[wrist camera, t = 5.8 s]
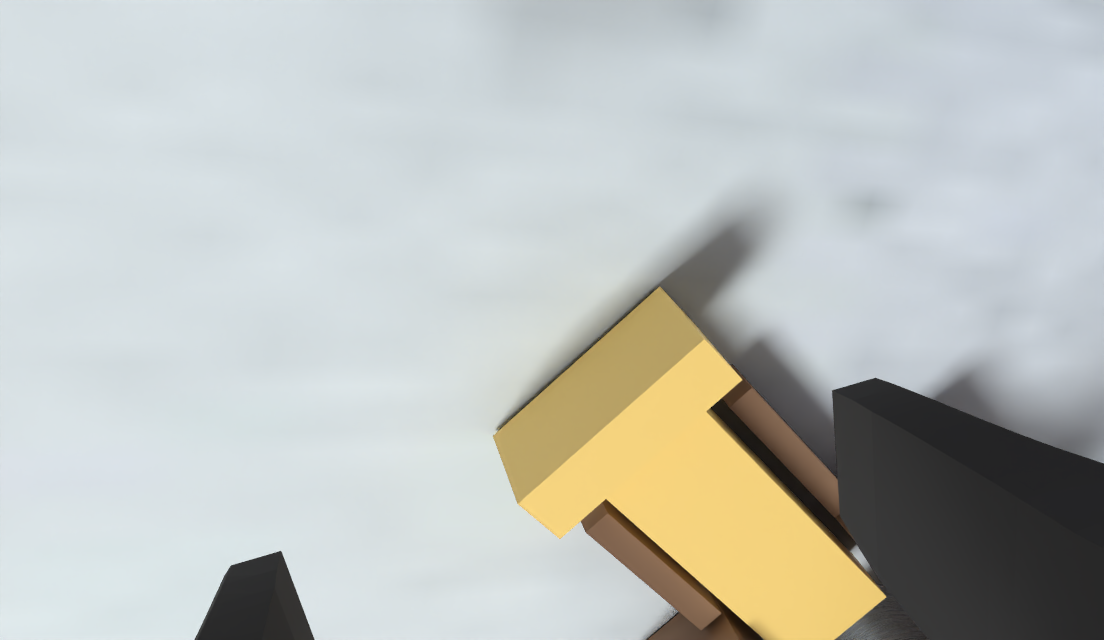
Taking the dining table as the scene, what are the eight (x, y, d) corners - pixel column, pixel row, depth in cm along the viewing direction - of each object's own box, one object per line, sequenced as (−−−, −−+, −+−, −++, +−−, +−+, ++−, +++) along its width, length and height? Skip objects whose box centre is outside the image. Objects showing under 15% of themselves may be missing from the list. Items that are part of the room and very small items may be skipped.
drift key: (659, 286, 24) (704, 338, 21) (883, 528, 29) (941, 594, 26) (492, 435, 24) (517, 504, 22) (739, 648, 29) (782, 724, 27)
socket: (807, 297, 25) (859, 342, 23) (1065, 608, 32) (1124, 666, 30) (502, 565, 26) (523, 633, 24) (814, 809, 33) (853, 879, 31)
